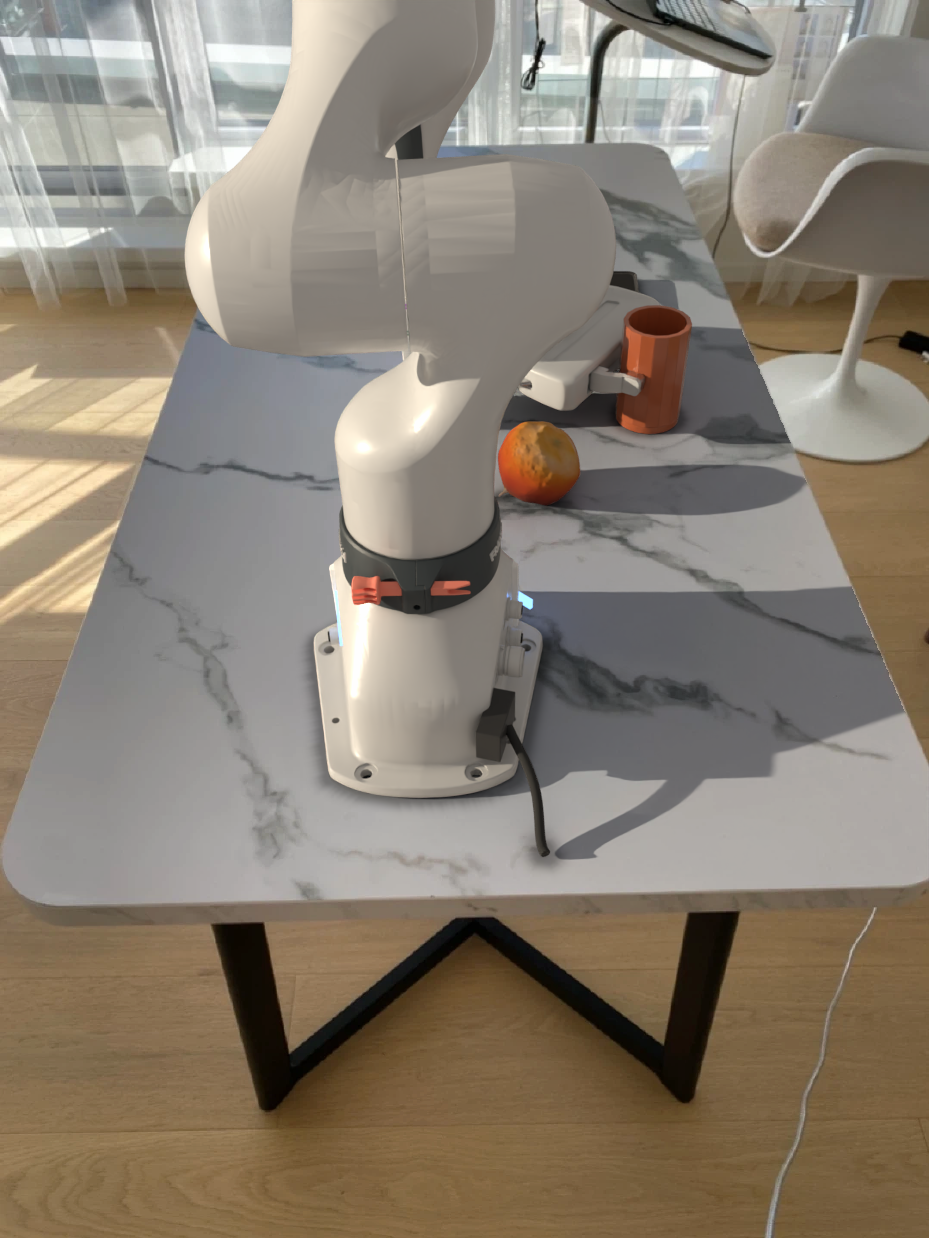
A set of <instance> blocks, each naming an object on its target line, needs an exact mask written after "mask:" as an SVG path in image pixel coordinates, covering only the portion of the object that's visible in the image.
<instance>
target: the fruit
mask: <svg viewBox="0 0 929 1238" xmlns="http://www.w3.org/2000/svg"><path fill="white" fill-rule="evenodd" d="M497 463H498V465H497V466H498V472H499V476H500V479H501V483H502V486H503V490H502V491H500V493H498V497H499V498H500V497H502V496H503V495H505V494H509V495H510V496H512V497H514V498H516V499H517V500H520V501H521V502H524V503H529V504H535V505H541V506H545V507H546V506H549V505H553V504H555V503H557V502H559V501H560V500H562V499H563V498H564V497H565V496H566V495H567V494H568V493H569V492H570V491H571V490H572V489H573V488H574V486H575V485H576V483H577V481H578V480H579V478H580V476H581V464H580V457H579V452H578V450H577V447H576V444H575V442H574V440H573V439H572V437H571V436H570V435H569V434H568V433H567V432H566V431H565V430H563V429H562V428H559V427H557V426H555V425H554V424H553V423H551V422H548V421H524V422H521V423H519V424H517V425H516V426H515V427H513V428H512V429H511V430H509V431H508V433H507V434H506V436H505V438H504V439H503V441H502V443H501V445H500V447H499V449H498V453H497Z"/></svg>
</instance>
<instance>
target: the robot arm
mask: <svg viewBox="0 0 929 1238" xmlns="http://www.w3.org/2000/svg"><path fill="white" fill-rule="evenodd" d="M291 12H292V13H291V23H292V24H291V48H290V49H291V51H290V62H289V68H288V73H287V78H286V82H285V85H284V87H283V91H282V93H281V97H280V100H279V101H278V104H277V106H276V108H275V111H274V112H273V115H272V116H271V118H270V120H269V122H268V123H267V126H266V127H265V128H264V130H263V132H261V135H260V136H259V138H258V139H257V141H256V142H255V143H254V144H253V146H252V147H251V148H250V150H249V151H248V152H247V153H246V154H245V155H244V156H243V157H242V159H240V160H239V161H238V162H237V163H236V164H235V165H234V166H233V167H232V168H231V169H230V170H229V171H227V172H226V173H225V174H224V175H222V176H221V177H219V179H217V180H215V182H213V183H212V184H210V185H209V187H208V188H207V189H206V191H205V192H204V193H203V195H202V196H201V198H200V199H199V201H198V203H197V204H196V206H195V208H194V211H193V213H192V214H191V218H190V221H189V224H188V227H187V232H186V236H185V242H184V243H185V244H184V266H185V274H186V279H187V284H188V286H189V290H190V292H191V296H192V299H193V301H194V302H195V304H196V306H197V308H198V310H199V312H200V314H201V315H202V316H203V318H204V320H205V321H206V323H207V324H208V325H209V326H210V328H211V329H212V330H213V331H214V332H215V333H216V334H217V335H218V336H219V337H220V338H221V339H222V340H223V341H224V342H226V343H227V344H228V345H229V346H231V347H233V348H238V349H245V350H251V351H257V352H264V353H268V354H269V353H270V354H278V355H287V356H294V357H295V356H296V357H301V358H302V357H304V358H308V357H324V356H342V355H358V354H359V355H361V354H375V353H377V354H378V353H391V352H402V351H408V340H407V323H406V308H405V297H406V307H407V320H408V333H409V346H410V352H412V353H411V354H410V355H409V356H408V357H407V358H406V359H405V360H404V361H403V360H402V361H401V362H400V363H398V364H397V365H396V366H394V367H393V368H390V369H389V370H387V371H386V372H384V373H381V374H380V375H378V376H377V377H374V378H373V379H371V380H370V381H368V383H366V384H365V385H363V386H362V387H361V388H360V389H359V391H357V392H356V393H355V395H353V396H352V398H351V399H350V401H349V402H348V403H347V405H346V406H345V407H344V409H343V411H342V412H341V414H340V416H339V419H338V421H337V424H336V428H335V432H334V440H333V441H334V451H335V458H336V465H337V466H336V467H337V473H338V480H339V489H340V495H341V503H342V505H341V507H340V510H339V515H338V516H339V517H338V518H339V520H338V523H339V525H338V526H339V528H338V542H339V551H340V556H339V557H338V558H337V559H335V560H334V561H333V563H332V564H330V565H329V567H328V569H329V575H330V582H331V588H332V594H333V595H332V596H333V601H334V607H335V614H336V620H337V622H335V623H332V624H330V625H327V627H324V628H323V629H321V630H320V631H318V632H317V633H316V634H315V635H314V637H313V655H314V662H315V663H314V664H315V670H316V680H317V688H318V696H319V704H320V705H319V707H320V713H321V721H322V730H323V739H324V740H323V741H324V748H325V757H326V763H327V764H326V765H327V771H328V774H329V776H330V778H331V779H332V780H333V781H335V782H337V783H338V784H341V785H343V786H344V787H347V788H350V789H351V790H355V791H358V792H362V793H366V794H370V795H377V796H383V797H393V798H411V799H412V798H414V799H415V798H417V799H424V798H445V797H454V796H455V797H456V796H463V795H467V794H473V793H477V792H481V791H485V790H488V789H492V788H494V787H496V786H499V785H500V784H503V783H504V782H506V781H508V780H510V779H512V778H513V777H514V776H515V774H516V772H517V769H518V765H519V763H520V765H521V768H522V770H523V772H524V774H525V777H526V780H527V781H526V782H527V784H528V787H529V791H530V796H531V801H532V802H531V803H532V812H533V825H534V839H535V845H536V849H537V853H538V854H539V856H540V857H542V858H546V857H547V856H549V855H550V854H551V850H550V849H549V847H548V844H547V837H546V827H545V826H546V824H545V810H544V802H543V796H542V795H543V794H542V791H541V786H540V783H539V779H538V777H537V773H536V771H535V768H534V765H533V763H532V761H531V759H530V757H529V755H528V753H527V751H526V749H525V747H524V745H523V743H524V737H525V733H526V728H527V724H528V718H529V714H530V709H531V705H532V699H533V696H534V695H533V694H534V691H535V687H536V686H535V685H536V681H537V676H538V672H539V667H540V662H541V657H542V652H543V648H544V643H543V635H542V633H541V632H540V631H539V629H538V628H536V627H534V626H532V625H530V624H528V623H526V622H524V621H522V620H521V619H522V618H523V611H524V607H525V608H527V609H528V610H531V609H533V607H534V605H533V604H534V599H533V598H531V597H529V596H528V595H526V594H524V593H523V592H521V591H520V581H519V579H520V578H519V573H520V571H519V570H520V569H519V563H518V562H516V561H515V560H514V559H513V558H512V556H509V555H508V554H507V553H506V552H505V551H504V549H503V548H501V547H502V543H501V541H502V538H503V537H502V535H503V524H502V523H503V522H502V517H501V511H500V505H499V502H498V500H497V497H496V496H495V481H496V480H495V479H496V476H495V475H496V462H497V451H498V442H499V434H500V429H501V425H502V422H503V418H504V415H505V413H506V410H507V408H508V406H509V403H510V401H511V400H512V398H513V396H514V394H516V391H519V392H520V393H522V394H523V395H524V396H526V397H528V398H531V399H532V400H534V401H535V402H538V403H541V404H543V405H545V406H547V407H549V408H552V409H555V410H558V411H561V412H562V411H573V410H575V409H576V408H577V407H578V406H580V405H581V404H582V402H584V401H585V400H586V399H587V398H589V397H590V396H591V394H593V393H594V392H595V393H599V394H602V395H603V394H605V395H606V394H617V393H621V392H622V393H626V394H629V395H632V396H637V395H638V394H639V393H640V392H641V391H642V390H643V389H644V387H645V384H644V383H645V376H644V375H643V374H640V373H636V372H634V371H629V372H628V373H626V374H625V373H619V372H617V371H619V363H620V352H621V341H622V329H623V319H624V317H625V316H626V314H627V313H628V312H629V311H631V310H633V309H635V308H638V307H643V306H647V305H661V303H660V302H659V301H658V300H657V299H655V298H654V297H652V296H650V295H646V294H644V293H641V292H639V293H638V292H635V291H631V290H628V289H624V288H621V287H617V286H611V285H610V282H611V279H612V275H613V271H615V265H616V258H617V257H616V256H617V238H616V237H617V235H616V230H615V224H614V219H613V216H612V213H611V210H610V207H609V204H608V203H607V200H606V199H605V196H604V194H603V193H602V191H601V190H600V188H599V187H598V185H597V183H596V182H595V181H594V180H593V179H592V177H591V176H590V175H589V174H588V173H587V172H586V171H585V169H583V168H582V167H581V166H579V165H576V164H570V163H564V162H559V161H554V160H549V159H543V158H537V157H529V156H522V155H515V154H508V153H501V154H484V155H483V154H482V155H466V156H465V155H464V156H447V157H446V156H445V157H438V154H439V152H440V149H441V147H442V144H443V142H444V140H445V137H446V135H447V134H448V131H449V129H450V128H451V124H452V123H453V122H454V120H455V118H456V116H457V114H458V112H459V111H460V109H461V107H462V106H463V104H464V103H465V101H466V99H468V96H469V95H470V93H471V92H472V91H473V89H474V87H475V85H476V84H477V82H478V81H479V80H480V78H481V75H482V74H483V72H484V71H485V69H486V67H487V65H488V62H489V59H490V57H491V53H492V51H493V46H494V44H493V43H494V37H495V26H496V0H291ZM476 775H478V777H474V776H476ZM367 776H370V777H367ZM364 777H367V778H364Z"/></svg>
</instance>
